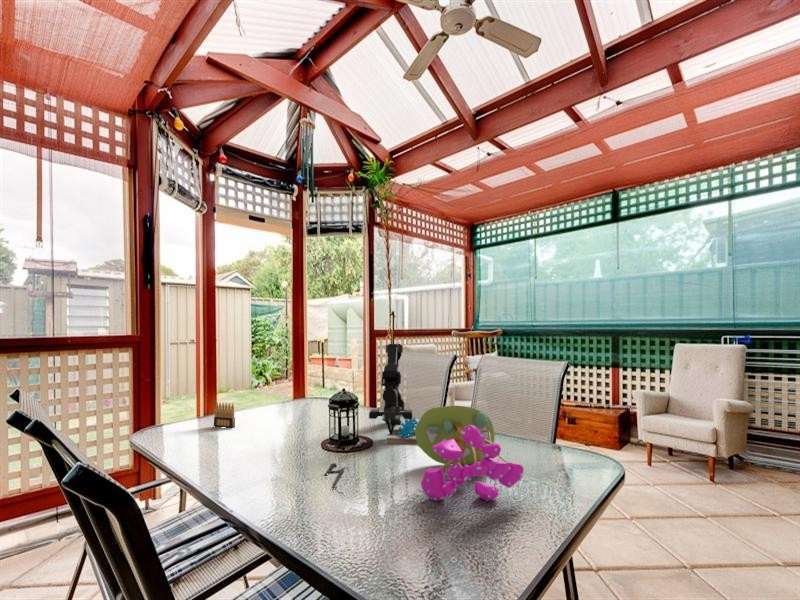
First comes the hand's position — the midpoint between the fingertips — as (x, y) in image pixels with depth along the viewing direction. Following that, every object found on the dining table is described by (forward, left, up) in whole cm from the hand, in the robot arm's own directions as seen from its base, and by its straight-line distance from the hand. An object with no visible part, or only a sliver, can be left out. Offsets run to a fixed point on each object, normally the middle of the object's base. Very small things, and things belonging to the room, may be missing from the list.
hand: (390, 434), depth 162 cm
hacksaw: (+44, -14, -2) cm, 46 cm away
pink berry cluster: (+46, +26, -2) cm, 53 cm away
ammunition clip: (-12, -81, -2) cm, 82 cm away
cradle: (0, +8, -2) cm, 8 cm away
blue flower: (-3, +8, -2) cm, 9 cm away
